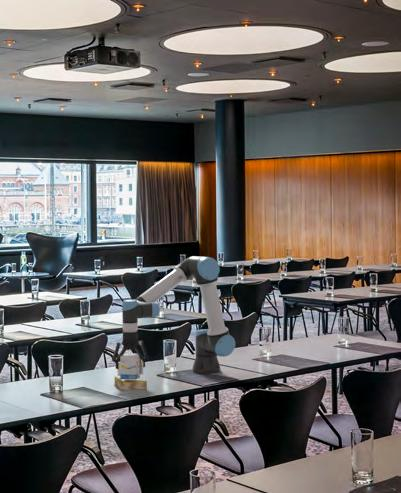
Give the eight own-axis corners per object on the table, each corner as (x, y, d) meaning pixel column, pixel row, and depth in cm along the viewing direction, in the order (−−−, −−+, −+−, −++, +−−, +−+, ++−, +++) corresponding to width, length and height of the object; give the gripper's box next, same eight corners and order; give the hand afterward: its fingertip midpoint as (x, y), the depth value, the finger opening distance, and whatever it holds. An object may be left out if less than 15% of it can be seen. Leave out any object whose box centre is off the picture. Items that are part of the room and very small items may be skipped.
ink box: (136, 379, 444) (136, 356, 443) (119, 379, 445) (119, 355, 445) (141, 376, 452) (140, 353, 451) (124, 375, 454) (124, 352, 453)
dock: (139, 383, 458) (139, 374, 457) (146, 388, 444) (146, 379, 444) (114, 385, 453) (114, 376, 453) (121, 390, 440) (121, 381, 440)
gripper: (150, 328, 455) (151, 371, 456) (105, 331, 447) (105, 374, 448) (154, 330, 448) (155, 374, 449) (108, 333, 440) (109, 377, 441)
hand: (130, 374), depth 449 cm, fingers closed on ink box, 11 cm apart
